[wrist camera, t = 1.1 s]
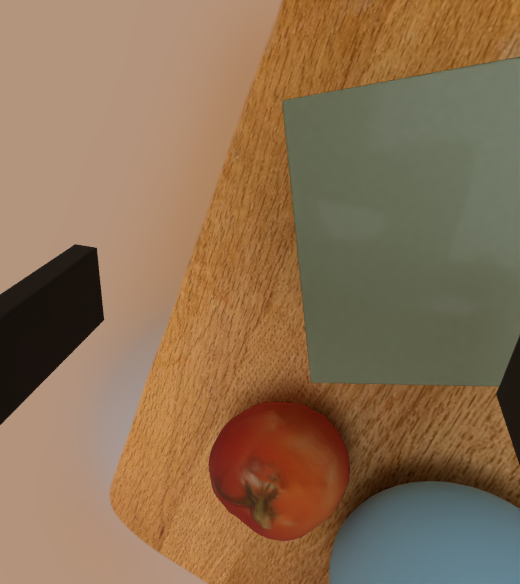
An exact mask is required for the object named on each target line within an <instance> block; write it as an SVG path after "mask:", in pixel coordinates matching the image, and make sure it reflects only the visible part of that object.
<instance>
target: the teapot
mask: <svg viewBox="0 0 520 584" xmlns="http://www.w3.org/2000/svg"><path fill="white" fill-rule="evenodd" d="M329 582H330V584H520V509H519V508H518V507H516V506H514V505H513V504H511V503H509V502H508V501H506V500H504V499H502V498H500V497H498V496H496V495H493V494H491V493H489V492H486V491H483V490H480V489H477V488H474V487H470V486H466V485H462V484H457V483H450V482H441V481H423V482H411V483H407V484H402V485H397V486H394V487H391V488H388V489H386V490H383V491H381V492H379V493H377V494H375V495H373V496H371V497H370V498H368V499H367V500H366V501H364V502H363V503H361V504H360V505H359V506H358V507H357V508H356V509H355V510H354V511H353V512H352V513H351V514H350V515H349V516H348V517H347V519H346V520H345V521H344V523H343V524H342V526H341V527H340V529H339V531H338V533H337V535H336V538H335V541H334V545H333V549H332V554H331V561H330V569H329Z"/></svg>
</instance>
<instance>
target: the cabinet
mask: <svg viewBox="0 0 520 584" xmlns="http://www.w3.org/2000/svg"><path fill="white" fill-rule="evenodd" d="M283 113H284V123H285V133H286V143H287V153H288V163H289V172H290V182H291V192H292V202H293V212H294V222H295V232H296V242H297V252H298V262H299V271H300V281H301V291H302V301H303V311H304V321H305V331H306V341H307V351H308V361H309V370H310V380H311V382H312V383H350V384H401V385H452V386H500V383H501V381H502V378H503V376H504V373H505V371H506V368H507V366H508V363H509V361H510V358H511V356H512V353H513V351H514V348H515V346H516V343H517V341H518V338H519V336H520V57H515V58H510V59H505V60H499V61H494V62H488V63H483V64H477V65H472V66H467V67H461V68H456V69H450V70H445V71H440V72H434V73H429V74H423V75H418V76H412V77H407V78H402V79H396V80H391V81H385V82H380V83H374V84H369V85H364V86H358V87H353V88H347V89H342V90H336V91H331V92H326V93H320V94H315V95H309V96H304V97H298V98H293V99H288V100H284V101H283Z"/></svg>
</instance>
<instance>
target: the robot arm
mask: <svg viewBox="0 0 520 584" xmlns="http://www.w3.org/2000/svg"><path fill="white" fill-rule="evenodd" d="M103 320H104V316H103V306H102V296H101V285H100V276H99V266H98V256H97V248H94V247H88V246H81V245H76V244H75V245H73V246H72V247H71V248H69V249H68V250H66V251H65V252H63V253H62V254H60V255H59V256H57V257H56V258H54V259H53V260H51V261H50V262H48V263H47V264H45V265H44V266H42V267H41V268H39V269H38V270H36V271H35V272H33V273H32V274H30V275H29V276H27V277H26V278H24V279H23V280H22V281H20V282H18V283H17V284H15V285H14V286H12V287H11V288H10V289H8V290H7V291H5V292H3V293H2V294H0V425H1V424H2V423H3V422H4V420H6V419H7V418H8V417H9V416H10V415H11V414H12V413H13V412H14V411H15V410H16V409H17V408H18V407H19V405H21V403H22V402H24V400H25V399H26V398H27V397H28V396H29V395H30V394H31V393H32V392H33V391H34V390H35V389H36V388H37V387H38V386H39V385H40V384H41V383H42V382H43V381H44V380H45V379H46V378H47V377H48V376H49V375H50V374H51V373H52V372H53V371H54V370H55V369H56V368H57V367H58V366H59V365H60V364H61V363H62V362H63V361H64V360H65V359H66V358H67V357H68V356H69V355H70V354H71V353H72V352H73V351H74V350H75V349H76V348H77V347H78V346H79V345H80V344H81V343H82V341H84V340H85V339H86V338H87V337H88V336H89V335H90V334H91V332H93V330H95V328H96V327H97V326H99V325H100V323H101V322H102V321H103ZM496 395H497V398H498V401H499V404H500V407H501V410H502V413H503V416H504V419H505V422H506V425H507V428H508V431H509V434H510V437H511V440H512V443H513V446H514V449H515V452H516V455H517V458H518V461H519V465H520V336H519V338H518V341H517V343H516V346H515V348H514V351H513V353H512V356H511V358H510V361H509V363H508V366H507V368H506V371H505V373H504V376H503V378H502V381H501V383H500V386H499V388H498V391H497V393H496Z"/></svg>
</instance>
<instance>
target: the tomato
mask: <svg viewBox="0 0 520 584" xmlns="http://www.w3.org/2000/svg"><path fill="white" fill-rule="evenodd" d="M209 472H210V478H211V484H212V488H213V491H214V493H215V495H216V496H217V497H218V499H219V500H220V501H221V502H222V504H223V505H224V506H225V507H226V508H227V510H228V511H229V512H230V513H231V514H233V515H235V516H236V517H238V518H239V519H240V520H241V521H242V522H243V523H245V524H246V525H247V526H248V527H250V528H251V529H252V530H253V531H255V532H256V533H257V534H259V535H261V536H264V537H266V538H269V539H273V540H280V541H289V540H294V539H297V538H300V537H302V536H304V535H305V534H307V533H308V532H310V531H311V530H313V529H314V528H316V527H317V526H319V525H320V524H321V523H323V522H324V521H325V520H327V519H328V518H329V517H330V516H331V515H332V514H333V512H334V511H335V510H336V508H337V507H338V505H339V503H340V501H341V499H342V497H343V494H344V492H345V490H346V487H347V485H348V482H349V474H350V466H349V457H348V453H347V449H346V447H345V444H344V442H343V440H342V438H341V436H340V434H339V432H338V431H337V430H336V428H335V427H334V426H333V425H332V424H331V423H330V422H329V421H328V419H327V418H326V416H324V415H323V414H321V413H318V412H315V411H314V410H312V409H311V408H310V407H308V406H306V405H304V404H300V403H291V402H264V403H261V404H258V405H255V406H253V407H251V408H249V409H247V410H245V411H244V412H242V413H240V414H239V415H237V416H235V417H234V418H232V419H231V420H230V421H229V422H228V423H227V424H226V425H225V426H224V428H223V429H222V430H221V432H220V434H219V436H218V437H217V439H216V441H215V443H214V445H213V447H212V450H211V453H210V457H209Z"/></svg>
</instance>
